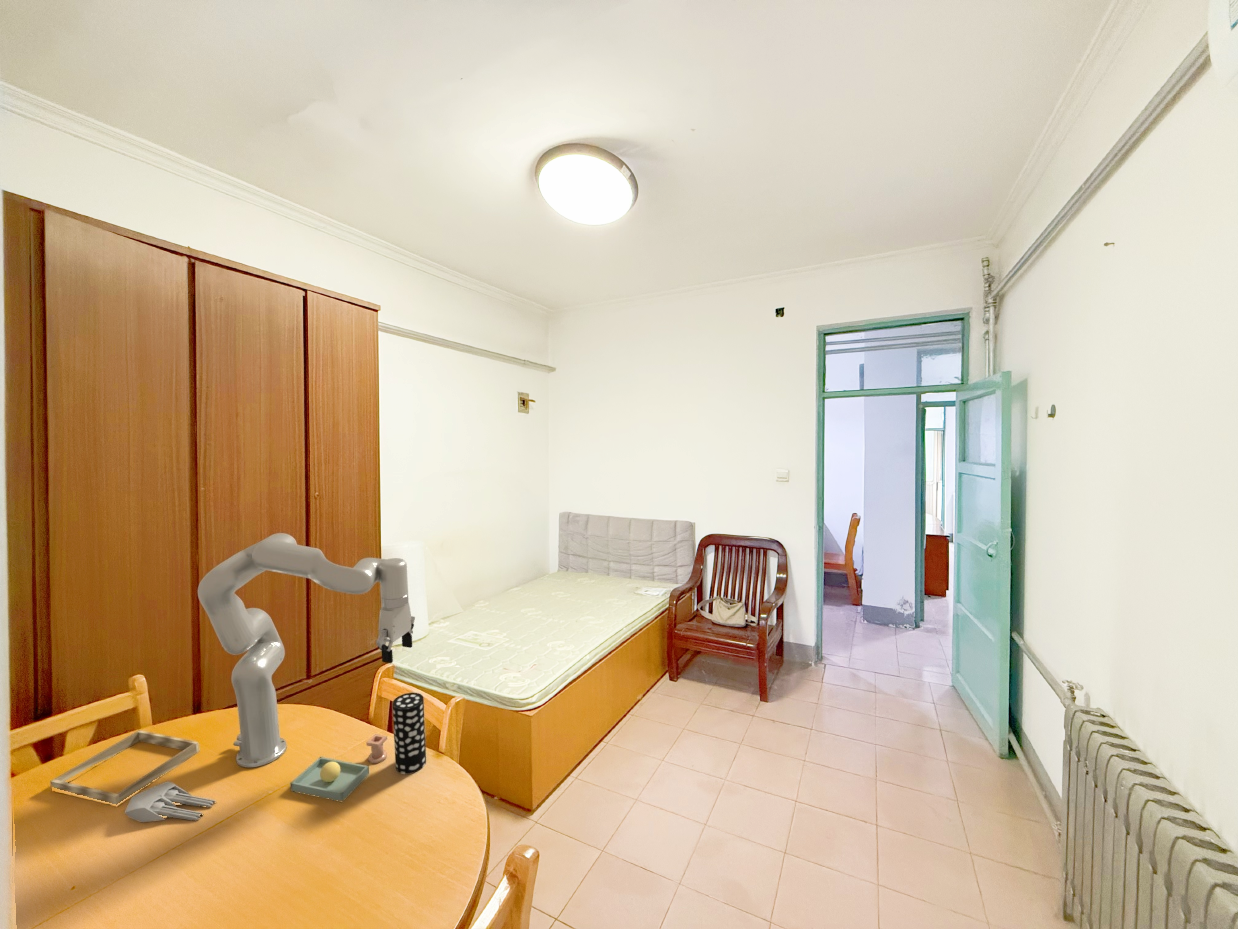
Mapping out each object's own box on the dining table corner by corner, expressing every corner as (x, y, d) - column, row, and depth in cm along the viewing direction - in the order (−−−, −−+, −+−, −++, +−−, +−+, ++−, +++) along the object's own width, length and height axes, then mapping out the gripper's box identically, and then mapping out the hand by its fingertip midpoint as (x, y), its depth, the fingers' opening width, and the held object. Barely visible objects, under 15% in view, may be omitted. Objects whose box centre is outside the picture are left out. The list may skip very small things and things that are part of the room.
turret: (191, 835, 140) (192, 819, 139) (113, 821, 140) (114, 804, 140) (221, 805, 150) (222, 789, 149) (148, 792, 150) (149, 776, 150)
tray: (291, 791, 152) (290, 783, 152) (321, 764, 163) (320, 756, 162) (342, 802, 149) (341, 794, 148) (369, 773, 159) (368, 766, 159)
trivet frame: (51, 791, 151) (50, 781, 150) (140, 739, 173) (138, 730, 172) (116, 807, 146) (115, 796, 145) (199, 751, 167) (198, 742, 167)
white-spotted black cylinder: (416, 776, 159) (413, 711, 156) (389, 771, 160) (386, 707, 157) (431, 756, 167) (429, 694, 164) (406, 752, 168) (403, 691, 165)
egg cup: (364, 761, 164) (363, 743, 163) (375, 750, 169) (374, 732, 168) (379, 764, 163) (378, 746, 162) (390, 753, 168) (389, 735, 167)
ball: (316, 784, 154) (315, 768, 153) (329, 771, 159) (328, 756, 158) (332, 788, 153) (330, 772, 152) (345, 775, 157) (343, 759, 156)
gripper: (401, 588, 176) (403, 640, 179) (364, 610, 159) (367, 667, 162) (422, 591, 174) (425, 642, 177) (387, 613, 158) (390, 670, 160)
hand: (397, 654), depth 170 cm, fingers open, 9 cm apart
